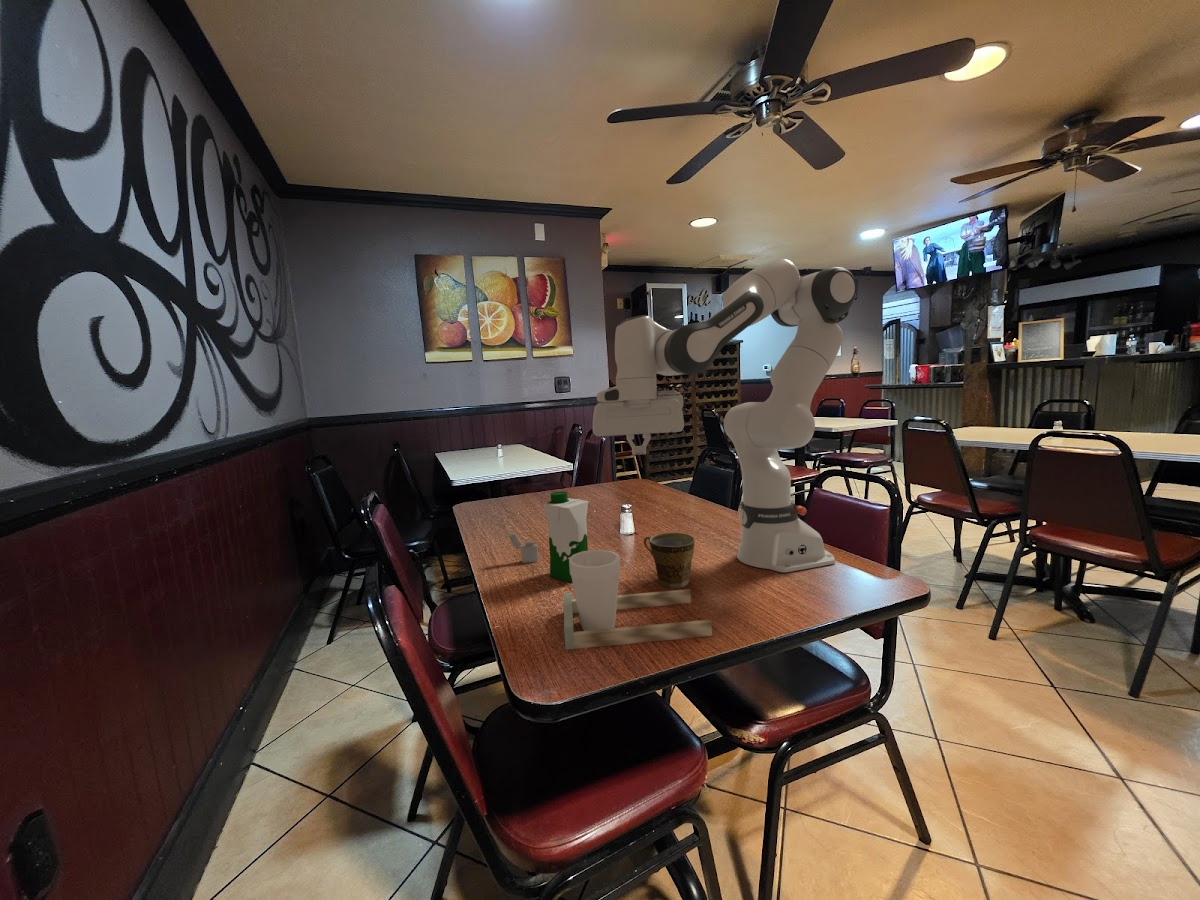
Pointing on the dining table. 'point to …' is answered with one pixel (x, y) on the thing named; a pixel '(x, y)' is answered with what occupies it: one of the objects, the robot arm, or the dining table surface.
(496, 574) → the dining table surface
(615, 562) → the foam cup
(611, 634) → the guide channel
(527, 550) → the lighter
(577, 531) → the milk carton
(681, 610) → the dining table surface
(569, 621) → the stop block
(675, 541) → the ceramic cup
